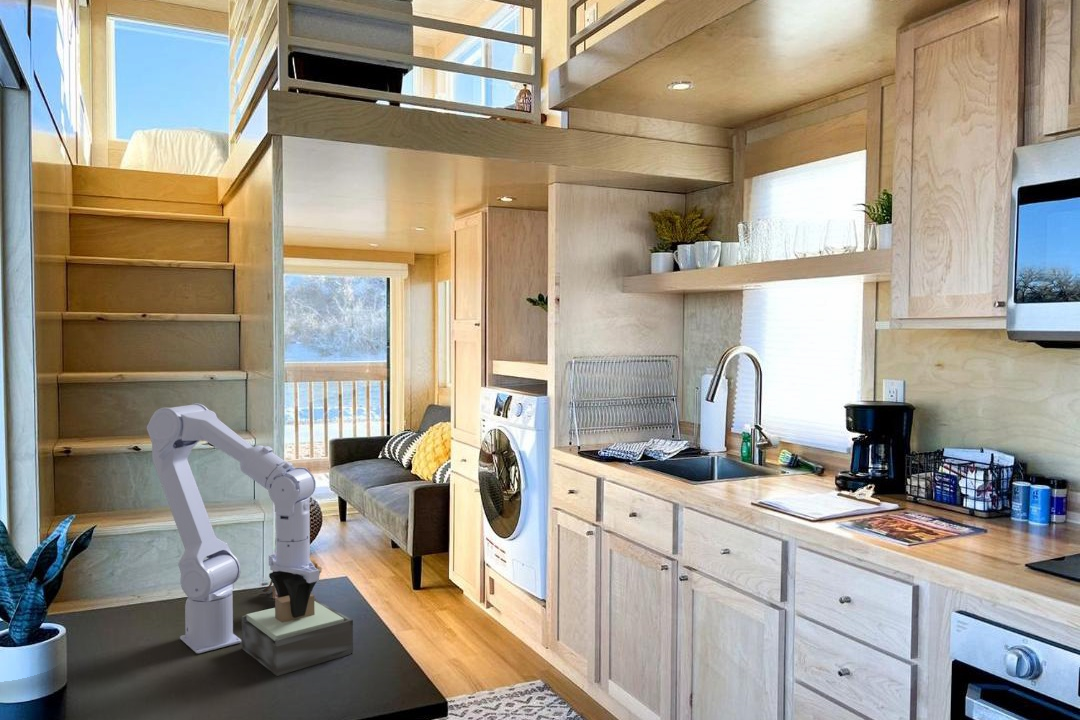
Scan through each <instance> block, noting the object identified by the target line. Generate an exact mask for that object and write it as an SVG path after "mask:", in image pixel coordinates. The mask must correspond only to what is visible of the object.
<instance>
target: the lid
mask: <svg viewBox="0 0 1080 720" xmlns="http://www.w3.org/2000/svg"><path fill="white" fill-rule="evenodd" d="M314 599H315V595H314V594H313V593H311V594H310V597H309V601H308V605H307V609H306V613H305V615H304V616H300V617H297V618H294V617H293V616H292V613H291V605H290V598H289V595H288V596H284V597H280V598H275V599H274V605H275V606H274V607H273V608H268V609H264V610H259V611H255V612H250V613H246V614H245V615H246V620H247V621H249V622H250V623H252V624H253V625H254V626H256V627H257V628H258V629H260V630H261V631H262V632H264V633H265V634H266V635H268V636H269V637H270V638H272V639H273V640H274V641H275V639H279V638H282V637H286V636H290V635H294V634H298V633H301V632H305V631H309V630H313V629H316V628H320V627H324V626H328V625H331V624H335V623H339V622H343V621H344V618H342V617H341V616H339V615H337V614H336V613H334V612H332V611H331V610H329V609H327V608H326V607H324V606H322V605H321V604H319V603H317V602H315V601H314Z"/></svg>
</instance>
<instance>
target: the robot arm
mask: <svg viewBox="0 0 1080 720" xmlns="http://www.w3.org/2000/svg"><path fill="white" fill-rule="evenodd" d="M146 430H147V433H148V436H149V439H150V441H151V454H152V455H151V459H152V461H153V464H154V465H153V466H154V468H155V470H156V474H157V477H158V479H159V482H160V485H161V487H162V490H163V493H164V495H165V499H166V500H167V504H168V506H169V509H170V511H171V515H172V517H173V520H174V523H175V526H176V528H177V531H178V533H179V536H180V538H181V542H182V544H183V546H184V551H183V553H182V555H181V557H180V559H179V560H178V563H177V565H178V569H179V571H180V587H181V589H182V592H183V593H184V594H185V595H186V597H187V599H186V601H185V605H184V610H185V611H184V619H185V623H184V625H185V626H184V627H185V629H184V630H185V634H182V635H180V636H179V639H180V640H181V641H182V642H183V643H185V644H186V646H188V647H189V648H190V649H191V650H192V651H193V652H194V653H195V654H202V653H205V652H209V651H214V650H218V649H220V648H225V647H228V646H233V645H236V644H239V643H242V638H240V637H238V636H237V635H236V634H235V633H234V622H233V621H234V617H233V616H234V609H233V608H234V607H233V605H234V604H233V603H234V602H233V600H234V599H233V593H234V592H233V590H234V589H235V583H236V582H237V581H238V580H239V578H240V576H241V572H242V571H241V570H242V569H241V564H240V561H239V559H238V558H237V557H236V555H234V553H233V552H232V551H231V549H230V546H229V544H228V543H227V542H225V541H223V540H221V539H220V538H218V537H217V536H216V534H215V531H214V528H213V526H212V523H211V521H210V518H209V515H208V512H207V509H206V506H205V504H204V503H205V502H204V501H203V499H202V495H201V493H200V491H199V488H198V485H197V482H196V479H195V477H194V474H193V471H192V468H191V466H190V464H189V460H188V458H189V456H190V454H191V452H192V451H193V448H195V447H196V445H197V444H198V443H200V442H201V441H205V442H207V443H209V444H210V445H212V446H213V447H214V448H216V449H218V450H220V451H221V452H223V453H225V454H226V455H228V456H229V457H231V458H233V459H234V460H236V461H238V462H239V465H240V467H239V468H240V471H241V472H242V473H243V474H245V475H246V476H247V477H249V478H250V479H251V480H252V481H255V482H256V484H258V485H260V486H261V487H263V488H264V489H265V490H267V491H268V495H269V497H270V500H271V501H272V502H273V504H274V512H275V531H276V532H275V548H276V549H275V553H273V554H269V555H268V566H269V569H270V571H272V572H270V573H269V574H268V577H269V579H270V581H271V580H272V582H273V583H272V585H273V584H274V586H275V588H276V591H277V594H278V598H280V597H284V596H288V595H289V598H290V605H291V613H292V616H293V617H294V618H297V617H300V616H304V615H305V613H306V609H307V605H308V601H309V597H310V594H312V591H313V589H314V587H315V586H316V584H317V582H319V581H320V576H319V570H318V569H316V568H315V566H314V565H313V563H312V562H311V560H310V559H311V557H310V555H311V549H310V548H311V544H310V543H311V536H310V535H311V533H310V530H311V528H310V527H311V526H310V524H311V523H310V522H311V521H310V519H311V518H310V517H311V516H310V512H311V511H310V508H311V507H310V501H311V499H310V497H312V496H313V494H314V493H315V490H316V488H317V487H316V486H317V485H316V479H315V476H314V475H313V474H312V473H311V472H310V470H309V469H308V468H307V467H303V466H298V467H295V466H294V463H292V462H290V461H286V460H284V459H282V457H279V456H278V455H277V454H276V453H274V452H273V451H274V449H273V448H272V447H271V446H269V445H266V446H264V445H261V444H260V445H259V444H258V445H255V446H253V445H251V444H250V443H248V442H247V441H246V440H245V439H243V437H241V436H240V435H239V434H238V433H236V432H235V431H234V430H232V429H231V428H230V427H229V426H228V425H226V424H225V423H224V422H222V421H221V420H220V419H219V418H218V416H217V414H216V412H215V411H213V410H211V409H208V408H207V406H205V405H203V404H202V403H191V404H188V405H180V406H174V407H173V406H171V407H161V408H158V409H156V410H155V411H154V413H153V414H152V415H151V416H150V420H149V422H148V423H147V426H146ZM205 558H207V559H205ZM273 571H274V572H273Z"/></svg>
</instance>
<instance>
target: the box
mask: <svg viewBox="0 0 1080 720" xmlns="http://www.w3.org/2000/svg"><path fill="white" fill-rule="evenodd" d="M314 601H315V602H317V603H319V604H321V605H322V606H324V607H326V608H327V609H329V610H331V611H332V612H334V613H336V614H337V615H339V616H341V617H342V618H344V621H343V622H339V623H335V624H331V625H328V626H324V627H320V628H316V629H313V630H309V631H305V632H301V633H298V634H294V635H290V636H286V637H282V638H279V639H275V641H274V640H273V639H272V638H270V637H269V636H268V635H266V634H265V633H264V632H262V631H261V630H260V629H258V628H257V627H256V626H254V625H253V624H252V623H250V622H249V621H247V620H246V614H245V615H241V649H242V650H243V652H244V651H245V653H247V654H248V655H249V656H251V657H252V658H253V659H255V661H257V662H258V663H260V664H261V665H262V666H263V667H265V668H266V669H267V670H268V671H270V672H271V673H272V674H274V675H275V676H276V677H279V676H281V675H282V676H283V675H286V674H289V673H292V672H295V671H299V670H302V669H305V668H308V667H309V668H310V667H312V666H315V665H319V664H322V663H326V662H328V661H333V660H336V659H339V658H342V657H346V656H349V655H352V654H351V653H354V621H353V619H351V618H350V617H348V616H346V615H345V614H343V613H341V612H339V611H337V610H335V609H334V608H332V607H330V606H328V605H327V604H325V603H323V602H321V601H319V600H318V599H316V598H314Z"/></svg>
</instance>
